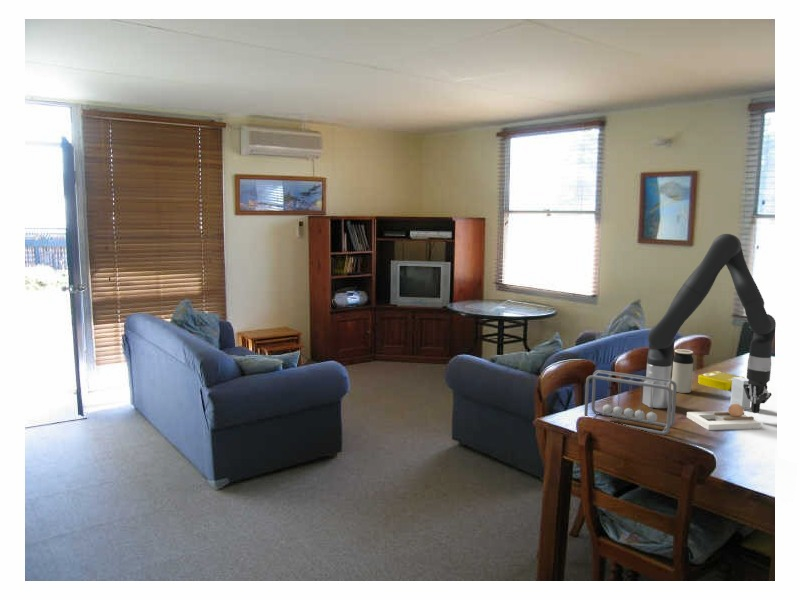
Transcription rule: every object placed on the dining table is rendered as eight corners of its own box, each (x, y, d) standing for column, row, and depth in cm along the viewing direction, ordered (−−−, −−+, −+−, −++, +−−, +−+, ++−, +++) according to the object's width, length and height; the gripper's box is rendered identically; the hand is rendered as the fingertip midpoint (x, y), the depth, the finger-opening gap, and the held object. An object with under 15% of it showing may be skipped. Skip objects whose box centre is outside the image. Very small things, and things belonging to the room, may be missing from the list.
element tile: (727, 392, 268) (728, 381, 267) (695, 384, 281) (696, 374, 280) (746, 387, 276) (747, 376, 275) (714, 379, 289) (715, 369, 288)
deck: (708, 430, 220) (708, 422, 220) (686, 417, 234) (687, 410, 234) (760, 428, 222) (760, 420, 222) (735, 415, 236) (736, 408, 236)
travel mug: (692, 394, 263) (695, 353, 261) (672, 392, 266) (674, 352, 263) (689, 389, 271) (692, 349, 268) (670, 387, 273) (673, 348, 271)
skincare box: (750, 409, 244) (752, 380, 242) (741, 410, 242) (744, 381, 241) (737, 404, 249) (740, 376, 248) (729, 405, 248) (731, 377, 246)
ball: (733, 419, 226) (734, 406, 225) (724, 415, 231) (726, 402, 230) (746, 419, 226) (747, 406, 226) (737, 414, 231) (738, 401, 231)
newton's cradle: (674, 427, 223) (677, 380, 221) (668, 436, 215) (672, 387, 212) (591, 412, 239) (593, 368, 237) (583, 420, 231) (585, 374, 228)
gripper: (738, 363, 233) (734, 407, 235) (761, 372, 220) (757, 418, 222) (756, 363, 234) (752, 406, 236) (781, 372, 220) (776, 418, 223)
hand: (755, 412), depth 229 cm, fingers closed
